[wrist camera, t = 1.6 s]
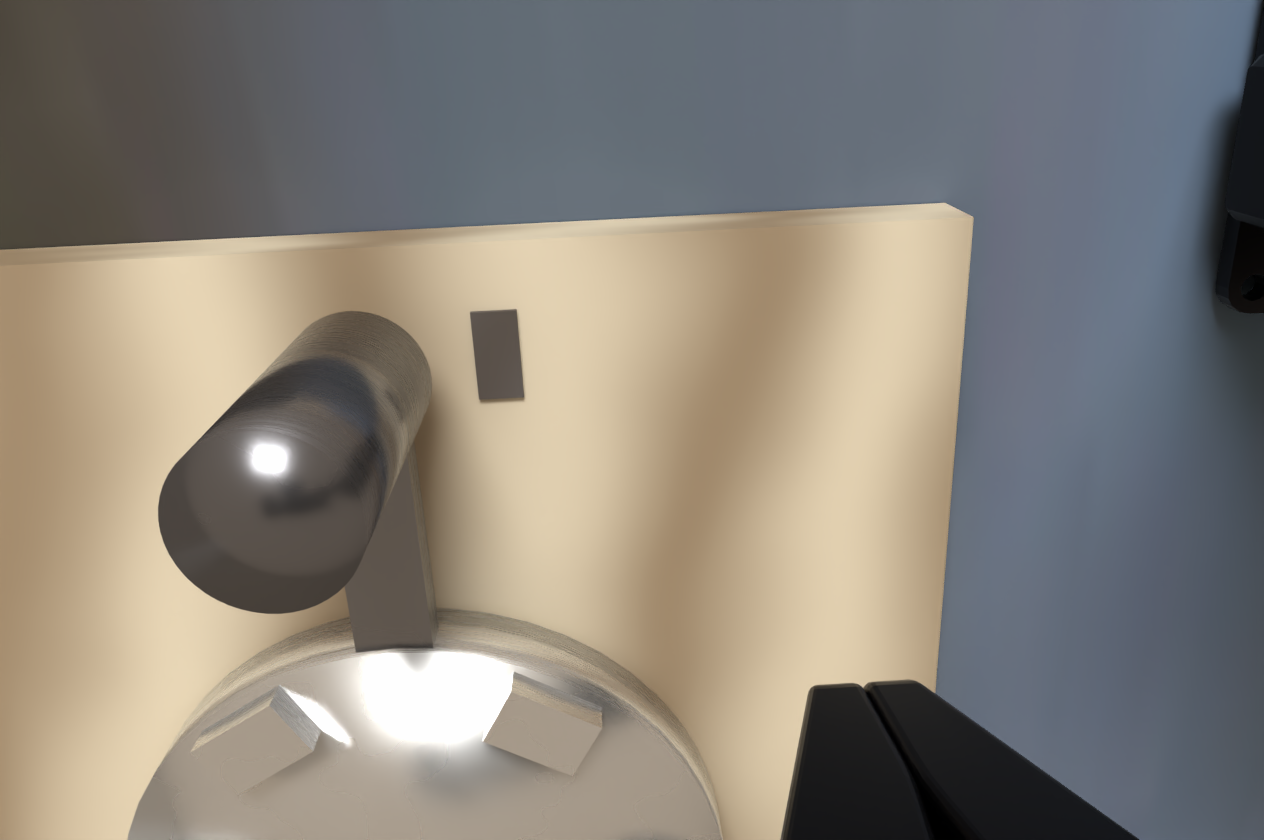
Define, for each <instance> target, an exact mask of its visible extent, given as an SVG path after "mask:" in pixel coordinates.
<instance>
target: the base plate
mask: <svg viewBox="0 0 1264 840" xmlns="http://www.w3.org/2000/svg"><path fill="white" fill-rule="evenodd" d="M973 219H974V217H972V216H970V215H968V214H966V213H964V212H962V211H960V210H958V209H956V208H954V207H952V206H950V205H948V204H946V203H932V204H912V205H892V206H872V207H852V208H832V209H812V210H792V211H772V212H752V213H732V214H712V215H691V216H671V217H651V218H631V219H611V220H591V221H571V222H551V223H531V224H511V225H491V226H471V227H450V228H430V229H410V230H390V231H370V232H350V233H330V234H310V235H290V236H270V237H250V238H229V239H209V240H189V241H169V242H149V243H129V244H109V245H89V246H69V247H49V248H29V249H9V250H0V840H128V833H129V830H130V827H131V824H132V821H133V818H134V815H135V812H136V809H137V806H138V803H139V801H140V799H141V797H142V796H143V794H144V792H145V790H146V788H147V786H148V784H149V783H150V781H151V779H152V777H153V775H154V773H155V772H156V770H157V768H158V767H159V765H160V763H161V762H162V760H163V758H164V756H165V755H166V753H167V751H168V750H169V748H170V746H171V745H172V743H173V741H174V739H175V738H176V736H177V734H178V733H179V731H180V729H181V728H182V726H183V724H184V723H185V721H186V720H187V719H188V717H189V716H190V715H191V713H192V712H193V711H194V710H195V708H196V707H197V706H198V704H199V703H200V702H201V701H202V699H203V698H204V697H205V696H206V695H207V694H208V693H209V692H210V691H211V690H212V689H213V688H214V687H215V686H216V685H217V684H218V683H219V682H221V681H222V680H223V679H224V678H225V677H226V676H227V675H228V674H229V673H230V672H232V671H233V670H234V669H236V668H237V667H239V666H240V665H242V664H243V663H244V662H246V661H247V660H249V659H250V658H252V657H253V656H254V655H256V654H257V653H259V652H261V651H262V650H264V649H266V648H268V647H270V646H272V645H274V644H276V643H278V642H280V641H282V640H284V639H286V638H288V637H289V636H291V635H294V634H297V633H299V632H302V631H305V630H308V629H310V628H313V627H316V626H319V625H321V624H324V623H327V622H330V621H334V620H339V619H343V618H347V617H350V615H349V609H348V603H347V597H346V592H345V586H344V587H343V588H342V589H341V590H340V591H339V592H338V593H337V594H335V595H334V596H332V597H331V598H329V599H328V600H326V601H324V602H322V603H320V604H319V605H316V606H314V607H311V608H308V609H306V610H301V611H297V612H292V613H284V614H264V613H255V612H250V611H246V610H241V609H238V608H235V607H232V606H229V605H227V604H225V603H222V602H220V601H218V600H216V599H214V598H213V597H211V596H209V595H208V594H206V593H204V592H203V591H202V590H200V589H199V588H198V587H196V586H195V585H194V584H193V583H192V582H191V581H190V580H189V579H187V578H186V577H185V576H184V574H183V573H182V572H181V571H180V570H179V568H178V567H177V566H176V565H175V563H174V561H173V560H172V558H171V557H170V555H169V553H168V551H167V549H166V547H165V545H164V542H163V539H162V536H161V533H160V528H159V522H158V504H159V497H160V493H161V490H162V486H163V484H164V482H165V480H166V477H167V475H168V474H169V472H170V471H171V469H172V468H173V466H174V465H175V464H176V463H177V462H178V461H179V460H180V458H181V457H182V456H183V455H184V454H185V453H186V452H187V451H188V450H189V449H190V448H191V447H192V446H193V445H194V444H195V443H196V442H197V441H198V440H199V439H200V438H201V437H202V436H203V435H204V434H205V432H206V431H207V430H208V429H209V428H210V427H211V426H212V425H213V424H214V423H215V422H216V421H217V420H218V419H219V418H220V417H221V416H222V415H223V414H224V413H225V412H226V411H227V410H228V409H229V407H230V406H231V405H232V404H233V403H234V402H235V401H236V400H237V399H238V398H239V397H240V396H241V395H242V394H243V393H244V392H245V391H246V390H247V389H248V388H249V387H250V386H251V385H252V384H253V382H254V381H255V380H256V379H257V378H258V377H259V376H260V375H261V374H262V373H263V372H264V371H265V370H266V369H267V368H268V367H269V366H270V365H271V364H272V363H273V362H274V361H275V360H276V359H277V357H278V356H279V355H280V354H281V353H282V352H283V351H284V350H285V349H286V348H287V347H288V346H289V345H290V344H291V343H292V342H293V341H294V340H295V339H296V338H297V337H298V336H299V335H300V334H301V333H302V331H303V330H304V329H305V328H307V327H308V326H309V325H310V324H312V323H313V322H315V321H317V320H318V319H320V318H322V317H325V316H327V315H330V314H334V313H338V312H345V311H361V312H368V313H372V314H376V315H379V316H381V317H384V318H387V319H389V320H390V321H392V322H394V323H396V324H397V325H399V326H400V327H401V328H403V329H404V330H405V331H406V332H408V333H409V334H410V335H411V336H412V337H413V339H414V340H415V341H416V342H417V343H418V345H419V346H420V348H421V349H422V351H423V353H424V355H425V357H426V359H427V361H428V364H429V367H430V371H431V377H432V394H431V399H430V403H429V406H428V408H427V411H426V413H425V416H424V418H423V420H422V422H421V425H420V427H419V429H418V432H417V434H416V436H415V439H414V442H415V450H416V457H417V465H418V473H419V480H420V488H421V495H422V503H423V510H424V518H425V525H426V533H427V540H428V548H429V555H430V563H431V570H432V578H433V585H434V593H435V601H436V608H450V609H459V610H468V611H477V612H486V613H492V614H496V615H500V616H505V617H509V618H514V619H518V620H522V621H527V622H530V623H533V624H536V625H539V626H541V627H544V628H547V629H550V630H553V631H556V632H558V633H561V634H564V635H566V636H569V637H571V638H573V639H575V640H577V641H579V642H581V643H583V644H585V645H587V646H589V647H591V648H593V649H595V650H597V651H599V652H601V653H602V654H604V655H605V656H607V657H608V658H610V659H611V660H613V661H615V662H616V663H618V664H619V665H621V666H622V667H624V668H625V669H627V670H628V671H630V672H631V673H632V674H633V675H635V676H636V677H637V678H638V679H639V680H640V681H642V682H643V683H644V684H645V685H646V686H647V687H649V688H650V689H651V690H652V691H653V692H654V693H656V694H657V695H658V696H659V697H660V699H661V700H662V701H663V702H664V703H665V704H666V705H667V707H668V708H669V709H670V710H671V711H672V712H673V713H674V714H675V716H676V717H677V718H678V719H679V720H680V722H681V723H682V725H683V726H684V728H685V729H686V731H687V732H688V734H689V735H690V737H691V738H692V740H693V742H694V743H695V745H696V746H697V748H698V750H699V753H700V755H701V757H702V759H703V761H704V764H705V766H706V768H707V770H708V772H709V775H710V778H711V782H712V786H713V789H714V793H715V797H716V801H717V805H718V811H719V818H720V824H721V830H722V836H723V840H780V839H781V833H782V828H783V823H784V817H785V812H786V807H787V801H788V796H789V791H790V786H791V780H792V775H793V770H794V764H795V759H796V754H797V748H798V743H799V738H800V733H801V727H802V722H803V717H804V711H805V706H806V701H807V696H808V692H809V690H810V688H811V687H813V686H814V685H822V684H840V683H856V684H859V685H861V686H862V687H864V686H865V685H866V684H867V683H868V682H874V681H890V680H906V679H910V680H915V681H917V682H919V683H921V684H923V685H924V686H925V687H927V688H928V689H930V690H931V691H932V692H934V693H935V687H936V675H937V662H938V650H939V638H940V625H941V613H942V601H943V588H944V576H945V564H946V551H947V539H948V527H949V514H950V502H951V490H952V477H953V465H954V453H955V440H956V428H957V416H958V403H959V391H960V379H961V366H962V354H963V342H964V330H965V317H966V305H967V293H968V280H969V268H970V256H971V243H972V231H973Z"/></svg>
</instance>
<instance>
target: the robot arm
mask: <svg viewBox="0 0 1264 840" xmlns="http://www.w3.org/2000/svg"><path fill="white" fill-rule="evenodd" d="M1225 207H1226V209H1227V210H1228V217H1227V223H1226V229H1225V235H1224V240H1223V246H1222V252H1221V258H1220V263H1219V269H1218V275H1217V281H1216V294H1217V296H1218V298H1219V300H1220V302H1222V303H1223V304H1225V305H1226V306H1228V307H1230V308H1232V309H1234V310H1237V311H1239V312H1243V313H1250V314H1251V313H1264V10H1263V15H1262V21H1261V27H1260V33H1259V38H1258V44H1257V50H1256V56H1255V62H1254V63H1253V64H1252V65H1251V67H1250V68H1249V69H1248V72H1247V77H1246V83H1245V89H1244V95H1243V101H1242V106H1241V112H1240V118H1239V124H1238V130H1237V136H1236V141H1235V147H1234V153H1233V159H1232V165H1231V171H1230V176H1229V182H1228V188H1227V194H1226V200H1225ZM1252 275H1255V284H1254V286H1253V288H1252V289H1251V290H1250V291H1249V292H1248V293H1247V294H1244V295H1242V293H1241V287H1242V285H1243V283H1244V281H1245V280H1246V279H1247V278H1249V277H1250V276H1252ZM780 840H1139V839H1138V838H1137V837H1135V836H1134V835H1132V834H1131V833H1130V832H1128V831H1127V830H1125V829H1124V828H1123V827H1121V826H1120V825H1118V824H1117V823H1116V822H1114V821H1113V820H1111V819H1110V818H1109V817H1107V816H1106V815H1104V814H1103V813H1102V812H1100V811H1099V810H1097V809H1096V808H1095V807H1093V806H1092V805H1090V804H1089V803H1088V802H1086V801H1085V800H1083V799H1082V798H1081V797H1079V796H1078V795H1076V794H1075V793H1074V792H1072V791H1071V790H1069V789H1068V788H1067V787H1065V786H1064V785H1062V784H1061V783H1060V782H1058V781H1057V780H1055V779H1054V778H1053V777H1051V776H1050V775H1048V774H1047V773H1046V772H1044V771H1043V770H1041V769H1040V768H1039V767H1037V766H1036V765H1034V764H1033V763H1032V762H1030V761H1029V760H1027V759H1026V758H1025V757H1023V756H1022V755H1020V754H1019V753H1018V752H1016V751H1015V750H1013V749H1012V748H1011V747H1009V746H1008V745H1006V744H1005V743H1004V742H1002V741H1001V740H999V739H998V738H997V737H995V736H994V735H992V734H991V733H990V732H988V731H987V730H985V729H984V728H983V727H981V726H980V725H978V724H977V723H976V722H974V721H973V720H972V719H970V718H969V717H967V716H966V715H965V714H963V713H962V712H960V711H959V710H958V709H956V708H955V707H953V706H952V705H951V704H949V703H948V702H946V701H945V700H944V699H942V698H941V697H939V696H938V695H937V694H935V693H934V692H932V691H931V690H930V689H928V688H927V687H925V686H924V685H923V684H921V683H919V682H917V681H915V680H910V679H906V680H890V681H874V682H868V683H867V684H866V685H865V686H864V687H862V686H861V685H859V684H856V683H840V684H822V685H814V686H813V687H811V688H810V690H809V692H808V696H807V701H806V706H805V711H804V717H803V722H802V727H801V733H800V738H799V743H798V748H797V754H796V759H795V764H794V770H793V775H792V780H791V786H790V791H789V796H788V801H787V807H786V812H785V817H784V823H783V828H782V833H781V839H780Z"/></svg>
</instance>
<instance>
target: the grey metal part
mask: <svg viewBox="0 0 1264 840" xmlns="http://www.w3.org/2000/svg"><path fill="white" fill-rule="evenodd" d="M431 394H432V377H431V371H430V367H429V364H428V361H427V359H426V357H425V355H424V353H423V351H422V349H421V348H420V346H419V345H418V343H417V342H416V341H415V340H414V339H413V337H412V336H411V335H410V334H409V333H408V332H406V331H405V330H404V329H403V328H401V327H400V326H399V325H397V324H396V323H394V322H392V321H390V320H389V319H387V318H384V317H381V316H379V315H376V314H372V313H368V312H361V311H345V312H338V313H334V314H330V315H327V316H325V317H322V318H320V319H318V320H317V321H315V322H313V323H312V324H310V325H309V326H308V327H307V328H305V329H304V330H303V331H302V333H301V334H300V335H299V336H298V337H297V338H296V339H295V340H294V341H293V342H292V343H291V344H290V345H289V346H288V347H287V348H286V349H285V350H284V351H283V352H282V353H281V354H280V355H279V356H278V357H277V359H276V360H275V361H274V362H273V363H272V364H271V365H270V366H269V367H268V368H267V369H266V370H265V371H264V372H263V373H262V374H261V375H260V376H259V377H258V378H257V379H256V380H255V381H254V382H253V384H252V385H251V386H250V387H249V388H248V389H247V390H246V391H245V392H244V393H243V394H242V395H241V396H240V397H239V398H238V399H237V400H236V401H235V402H234V403H233V404H232V405H231V406H230V407H229V409H228V410H227V411H226V412H225V413H224V414H223V415H222V416H221V417H220V418H219V419H218V420H217V421H216V422H215V423H214V424H213V425H212V426H211V427H210V428H209V429H208V430H207V431H206V432H205V434H204V435H203V436H202V437H201V438H200V439H199V440H198V441H197V442H196V443H195V444H194V445H193V446H192V447H191V448H190V449H189V450H188V451H187V452H186V453H185V454H184V455H183V456H182V457H181V458H180V460H179V461H178V462H177V463H176V464H175V465H174V466H173V468H172V469H171V471H170V472H169V474H168V475H167V477H166V480H165V482H164V484H163V486H162V490H161V493H160V497H159V504H158V522H159V528H160V533H161V536H162V539H163V542H164V545H165V547H166V549H167V551H168V553H169V555H170V557H171V558H172V560H173V561H174V563H175V565H176V566H177V567H178V568H179V570H180V571H181V572H182V573H183V574H184V576H185V577H186V578H187V579H189V580H190V581H191V582H192V583H193V584H194V585H195V586H196V587H198V588H199V589H200V590H202V591H203V592H204V593H206V594H208V595H209V596H211V597H213V598H214V599H216V600H218V601H220V602H222V603H225V604H227V605H229V606H232V607H235V608H238V609H241V610H246V611H250V612H255V613H264V614H284V613H292V612H297V611H301V610H306V609H308V608H311V607H314V606H316V605H319V604H320V603H322V602H324V601H326V600H328V599H329V598H331V597H332V596H334V595H335V594H337V593H338V592H339V591H340V590H341V589H342V588H343V587H344V586H345V592H346V597H347V603H348V609H349V615H350V617H347V618H343V619H339V620H334V621H330V622H327V623H324V624H321V625H319V626H316V627H313V628H310V629H308V630H305V631H302V632H299V633H297V634H294V635H291V636H289V637H288V638H286V639H284V640H282V641H280V642H278V643H276V644H274V645H272V646H270V647H268V648H266V649H264V650H262V651H261V652H259V653H257V654H256V655H254V656H253V657H252V658H250V659H249V660H247V661H246V662H244V663H243V664H242V665H240V666H239V667H237V668H236V669H234V670H233V671H232V672H230V673H229V674H228V675H227V676H226V677H225V678H224V679H223V680H222V681H221V682H219V683H218V684H217V685H216V686H215V687H214V688H213V689H212V690H211V691H210V692H209V693H208V694H207V695H206V696H205V697H204V698H203V699H202V701H201V702H200V703H199V704H198V706H197V707H196V708H195V710H194V711H193V712H192V713H191V715H190V716H189V717H188V719H187V720H186V721H185V723H184V724H183V726H182V728H181V729H180V731H179V733H178V734H177V736H176V738H175V739H174V741H173V743H172V745H171V746H170V748H169V750H168V751H167V753H166V755H165V756H164V758H163V760H162V762H161V763H160V765H159V767H158V768H157V770H156V772H155V773H154V775H153V777H152V779H151V781H150V783H149V784H148V786H147V788H146V790H145V792H144V794H143V796H142V797H141V799H140V801H139V803H138V806H137V809H136V812H135V815H134V818H133V821H132V824H131V827H130V830H129V833H128V840H723V836H722V830H721V824H720V818H719V811H718V805H717V801H716V797H715V793H714V789H713V786H712V782H711V778H710V775H709V772H708V770H707V768H706V766H705V764H704V761H703V759H702V757H701V755H700V753H699V750H698V748H697V746H696V745H695V743H694V742H693V740H692V738H691V737H690V735H689V734H688V732H687V731H686V729H685V728H684V726H683V725H682V723H681V722H680V720H679V719H678V718H677V717H676V716H675V714H674V713H673V712H672V711H671V710H670V709H669V708H668V707H667V705H666V704H665V703H664V702H663V701H662V700H661V699H660V697H659V696H658V695H657V694H656V693H654V692H653V691H652V690H651V689H650V688H649V687H647V686H646V685H645V684H644V683H643V682H642V681H640V680H639V679H638V678H637V677H636V676H635V675H633V674H632V673H631V672H630V671H628V670H627V669H625V668H624V667H622V666H621V665H619V664H618V663H616V662H615V661H613V660H611V659H610V658H608V657H607V656H605V655H604V654H602V653H601V652H599V651H597V650H595V649H593V648H591V647H589V646H587V645H585V644H583V643H581V642H579V641H577V640H575V639H573V638H571V637H569V636H566V635H564V634H561V633H558V632H556V631H553V630H550V629H547V628H544V627H541V626H539V625H536V624H533V623H530V622H527V621H522V620H518V619H514V618H509V617H505V616H500V615H496V614H492V613H486V612H477V611H468V610H459V609H450V608H436V601H435V593H434V585H433V578H432V570H431V563H430V555H429V548H428V540H427V533H426V525H425V518H424V510H423V503H422V495H421V488H420V480H419V473H418V465H417V457H416V450H415V442H414V439H415V436H416V434H417V432H418V429H419V427H420V425H421V422H422V420H423V418H424V416H425V413H426V411H427V408H428V406H429V403H430V399H431Z"/></svg>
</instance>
